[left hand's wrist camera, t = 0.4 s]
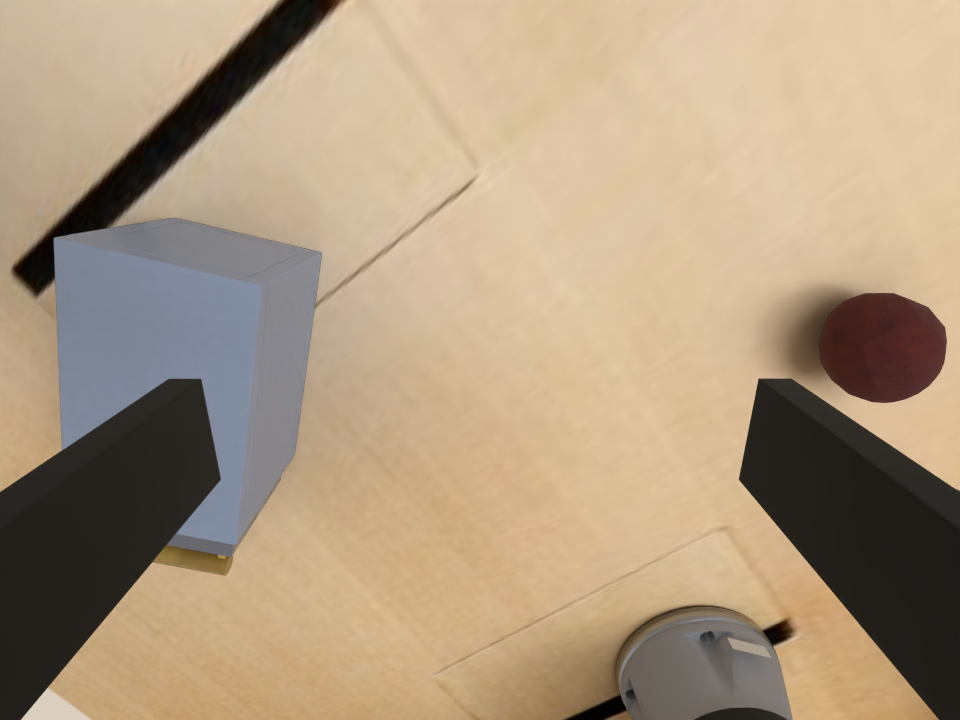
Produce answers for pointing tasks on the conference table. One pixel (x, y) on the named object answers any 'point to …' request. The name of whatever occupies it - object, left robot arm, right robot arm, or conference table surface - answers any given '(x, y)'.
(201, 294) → the cabinet
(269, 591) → the conference table surface
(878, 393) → the dark maroon ball
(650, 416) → the conference table surface
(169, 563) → the drawer
